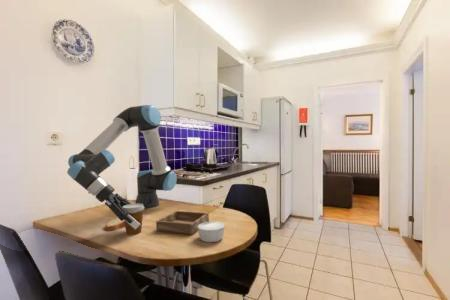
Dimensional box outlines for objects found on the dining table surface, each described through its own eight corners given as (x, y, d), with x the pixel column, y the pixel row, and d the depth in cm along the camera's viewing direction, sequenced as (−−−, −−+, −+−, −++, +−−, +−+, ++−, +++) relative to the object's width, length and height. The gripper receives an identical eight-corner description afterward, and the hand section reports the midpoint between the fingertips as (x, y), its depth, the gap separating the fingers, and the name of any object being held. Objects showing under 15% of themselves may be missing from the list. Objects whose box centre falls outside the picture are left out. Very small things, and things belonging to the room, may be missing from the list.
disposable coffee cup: (117, 235, 103) (116, 208, 103) (131, 228, 113) (130, 202, 113) (136, 237, 101) (136, 208, 101) (149, 229, 110) (148, 203, 110)
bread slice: (106, 233, 109) (105, 224, 108) (102, 222, 124) (102, 215, 124) (146, 225, 118) (146, 217, 118) (138, 216, 133) (138, 210, 133)
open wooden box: (176, 219, 125) (176, 210, 125) (208, 222, 119) (208, 213, 119) (156, 231, 108) (156, 221, 108) (192, 234, 102) (192, 224, 102)
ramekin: (210, 231, 106) (210, 219, 106) (230, 237, 99) (230, 224, 99) (192, 239, 98) (191, 226, 98) (212, 246, 91) (212, 232, 90)
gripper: (103, 191, 115) (138, 221, 119) (84, 202, 92) (128, 238, 95) (114, 180, 116) (149, 209, 120) (99, 188, 93) (142, 224, 96)
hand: (140, 222), depth 107 cm, fingers open, 11 cm apart
